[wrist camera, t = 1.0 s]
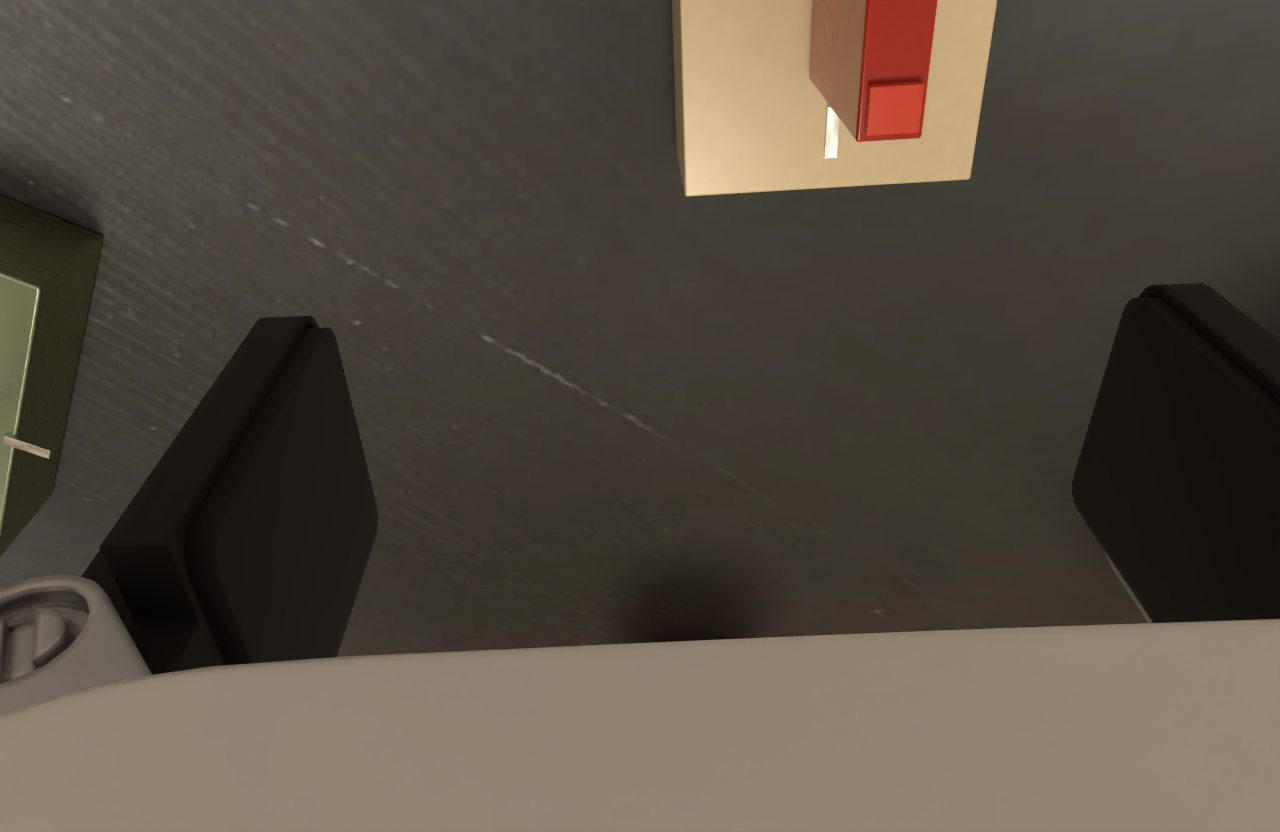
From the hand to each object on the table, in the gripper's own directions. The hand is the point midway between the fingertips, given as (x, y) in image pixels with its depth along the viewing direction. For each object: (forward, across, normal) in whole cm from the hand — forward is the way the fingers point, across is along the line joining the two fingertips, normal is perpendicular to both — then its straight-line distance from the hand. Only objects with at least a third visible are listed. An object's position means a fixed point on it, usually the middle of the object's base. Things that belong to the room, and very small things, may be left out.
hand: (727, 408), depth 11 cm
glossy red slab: (+15, -4, -3) cm, 16 cm away
